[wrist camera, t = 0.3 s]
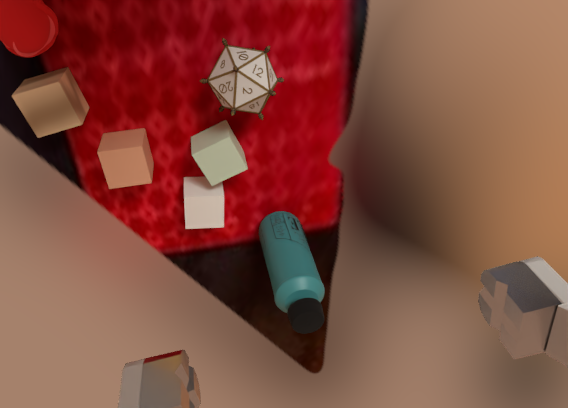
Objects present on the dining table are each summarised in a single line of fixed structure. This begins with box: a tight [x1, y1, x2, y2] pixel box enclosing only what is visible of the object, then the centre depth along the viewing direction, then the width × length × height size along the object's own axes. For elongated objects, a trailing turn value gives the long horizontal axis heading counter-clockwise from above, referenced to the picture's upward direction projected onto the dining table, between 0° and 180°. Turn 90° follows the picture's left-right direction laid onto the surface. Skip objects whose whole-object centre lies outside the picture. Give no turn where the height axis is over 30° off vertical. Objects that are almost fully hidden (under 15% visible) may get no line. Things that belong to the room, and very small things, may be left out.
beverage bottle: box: [258, 211, 324, 334], centre depth 60 cm, size 6×7×20 cm
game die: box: [200, 38, 284, 120], centre depth 51 cm, size 9×8×10 cm
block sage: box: [191, 120, 248, 186], centre depth 58 cm, size 5×5×5 cm
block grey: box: [184, 177, 224, 229], centre depth 61 cm, size 5×5×5 cm
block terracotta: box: [97, 128, 154, 189], centre depth 56 cm, size 5×5×5 cm
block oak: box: [12, 67, 89, 138], centre depth 50 cm, size 5×5×5 cm
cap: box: [0, 0, 59, 58], centre depth 45 cm, size 8×6×6 cm
